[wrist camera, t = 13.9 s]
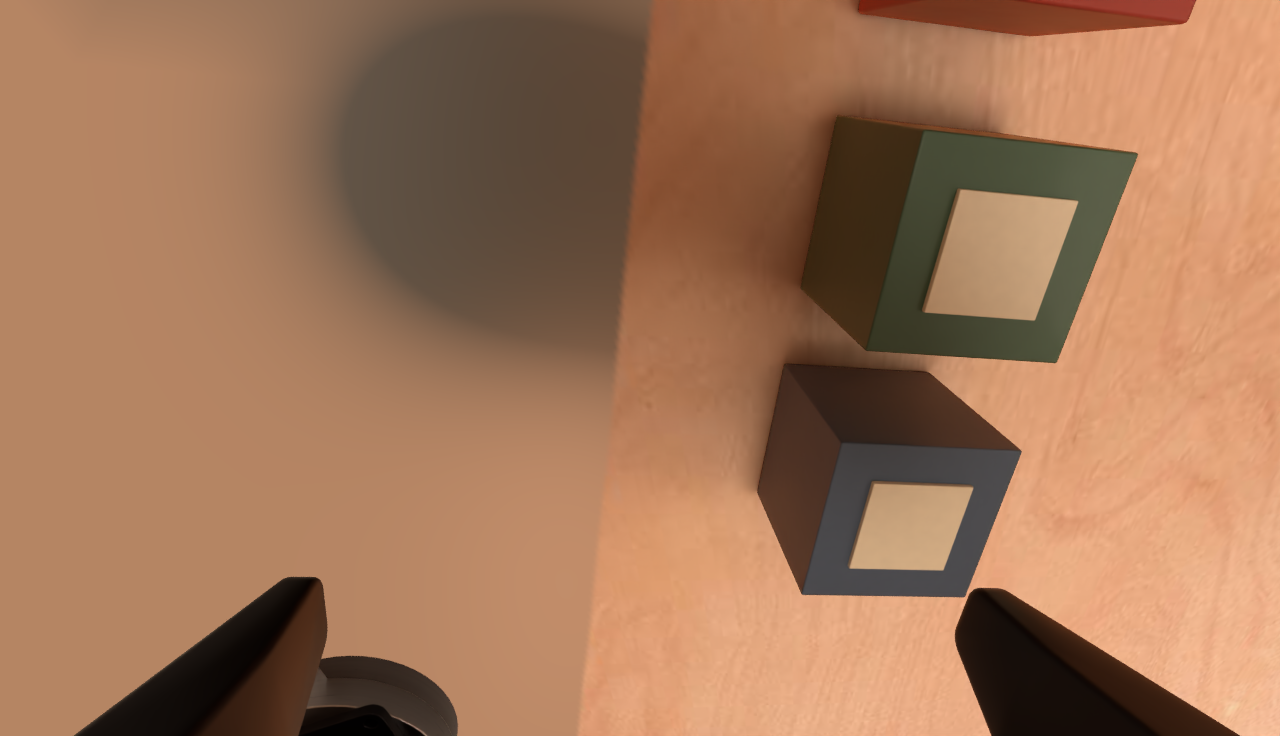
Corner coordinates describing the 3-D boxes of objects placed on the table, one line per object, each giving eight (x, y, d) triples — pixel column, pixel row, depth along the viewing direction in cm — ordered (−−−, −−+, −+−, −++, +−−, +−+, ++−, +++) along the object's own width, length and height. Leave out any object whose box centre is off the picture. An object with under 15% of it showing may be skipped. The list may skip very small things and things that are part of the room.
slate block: (890, 497, 24) (967, 601, 19) (756, 492, 23) (802, 598, 18) (929, 371, 22) (1026, 453, 17) (783, 363, 21) (843, 445, 16)
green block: (951, 300, 21) (1060, 365, 16) (799, 288, 20) (867, 353, 15) (1002, 133, 19) (1144, 153, 14) (836, 114, 18) (926, 129, 14)
